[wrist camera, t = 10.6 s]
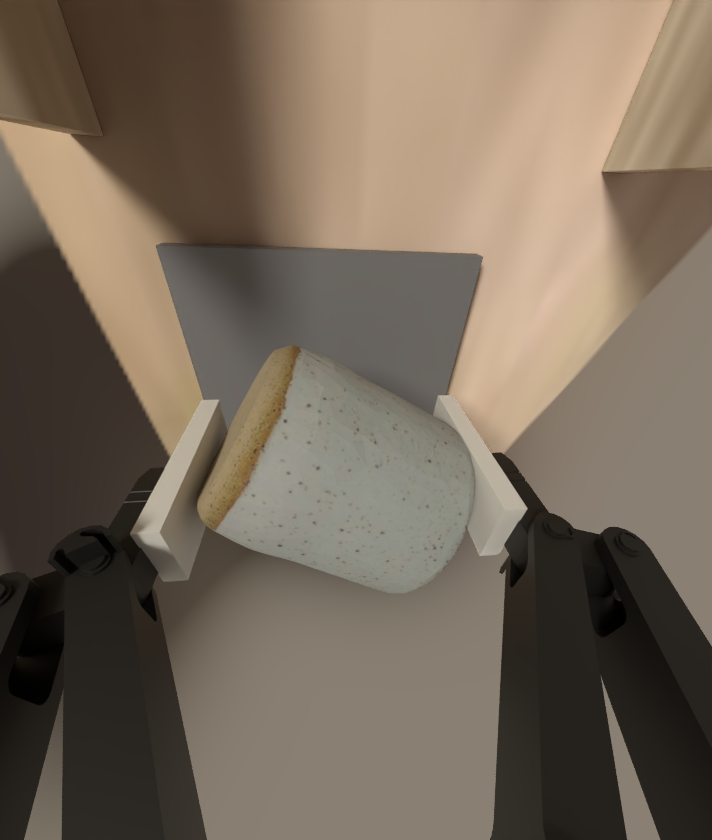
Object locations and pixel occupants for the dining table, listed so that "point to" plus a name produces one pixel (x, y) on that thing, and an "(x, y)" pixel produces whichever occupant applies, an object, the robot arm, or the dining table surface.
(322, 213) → the dining table surface
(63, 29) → the open box
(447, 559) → the ceramic mug
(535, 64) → the dining table surface
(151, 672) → the robot arm
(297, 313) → the rubber mat
